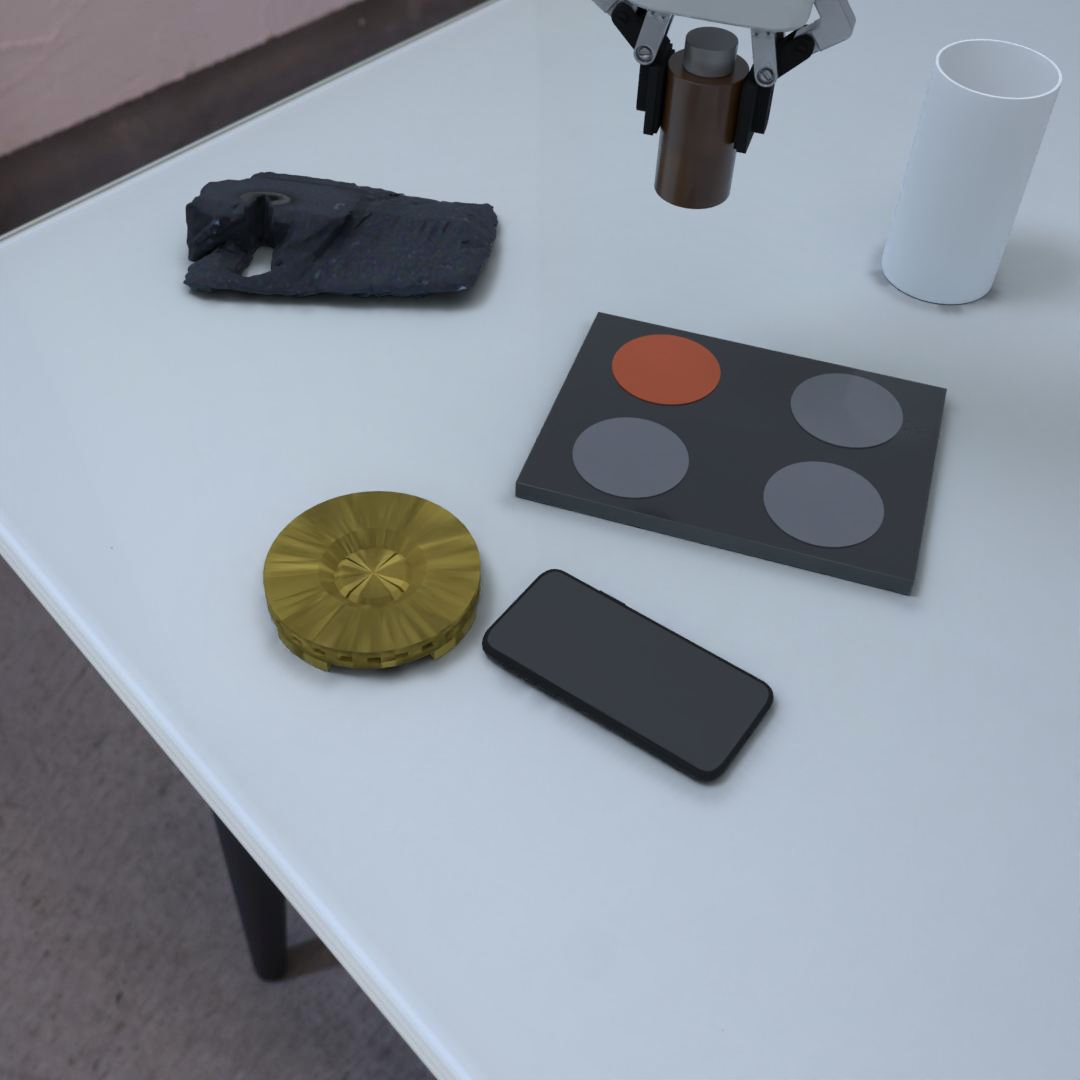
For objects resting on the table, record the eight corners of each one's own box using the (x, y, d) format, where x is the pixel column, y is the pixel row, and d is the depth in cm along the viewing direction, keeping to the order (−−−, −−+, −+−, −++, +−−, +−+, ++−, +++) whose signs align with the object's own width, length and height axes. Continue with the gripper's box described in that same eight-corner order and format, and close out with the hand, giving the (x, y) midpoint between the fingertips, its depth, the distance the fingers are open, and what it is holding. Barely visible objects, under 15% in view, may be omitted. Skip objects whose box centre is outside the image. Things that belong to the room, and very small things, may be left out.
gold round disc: (493, 665, 71) (493, 640, 69) (269, 688, 70) (264, 663, 68) (467, 508, 79) (467, 482, 78) (266, 526, 78) (261, 500, 76)
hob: (942, 402, 87) (947, 387, 86) (909, 595, 75) (915, 580, 74) (597, 325, 92) (598, 310, 91) (514, 496, 80) (515, 481, 79)
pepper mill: (737, 176, 77) (761, 27, 70) (721, 216, 74) (744, 64, 67) (664, 161, 78) (681, 13, 71) (645, 200, 75) (661, 49, 68)
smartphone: (714, 784, 65) (472, 641, 71) (711, 794, 66) (472, 652, 71) (783, 687, 70) (550, 560, 75) (779, 698, 70) (549, 571, 76)
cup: (879, 234, 101) (931, 33, 89) (987, 245, 100) (1054, 44, 88) (883, 297, 95) (939, 92, 83) (998, 310, 94) (1071, 105, 83)
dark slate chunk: (472, 332, 91) (472, 275, 87) (165, 296, 93) (153, 238, 89) (508, 210, 101) (509, 155, 98) (232, 180, 103) (223, 124, 99)
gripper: (943, -232, 61) (860, 128, 74) (593, -279, 64) (574, 74, 77) (925, -178, 56) (839, 196, 69) (547, -232, 59) (535, 136, 72)
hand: (700, 128), depth 73 cm, fingers closed on pepper mill, 4 cm apart
